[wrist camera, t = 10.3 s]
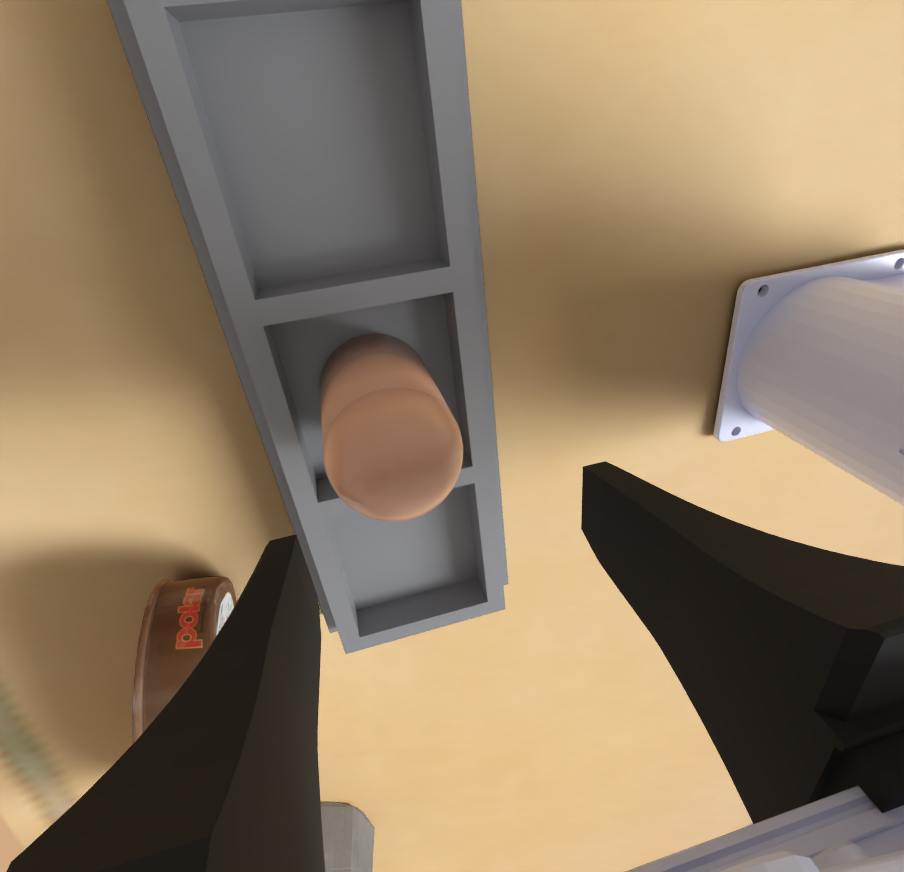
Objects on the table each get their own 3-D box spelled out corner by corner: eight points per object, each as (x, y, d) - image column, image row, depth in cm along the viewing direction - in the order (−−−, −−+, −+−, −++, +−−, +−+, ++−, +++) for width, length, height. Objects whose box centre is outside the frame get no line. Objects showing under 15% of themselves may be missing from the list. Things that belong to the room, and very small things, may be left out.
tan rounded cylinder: (419, 324, 18) (473, 404, 12) (434, 421, 20) (486, 530, 14) (307, 345, 18) (306, 439, 12) (333, 443, 20) (344, 567, 14)
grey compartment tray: (446, -37, 15) (473, -75, 12) (500, 567, 27) (519, 607, 24) (113, -12, 13) (72, -46, 11) (329, 613, 26) (331, 661, 23)
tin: (162, 537, 21) (90, 730, 14) (243, 532, 22) (212, 713, 15) (205, 753, 28) (170, 956, 21) (265, 743, 29) (251, 935, 22)
